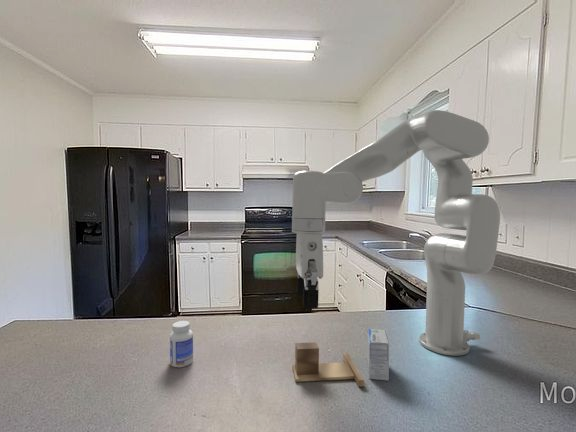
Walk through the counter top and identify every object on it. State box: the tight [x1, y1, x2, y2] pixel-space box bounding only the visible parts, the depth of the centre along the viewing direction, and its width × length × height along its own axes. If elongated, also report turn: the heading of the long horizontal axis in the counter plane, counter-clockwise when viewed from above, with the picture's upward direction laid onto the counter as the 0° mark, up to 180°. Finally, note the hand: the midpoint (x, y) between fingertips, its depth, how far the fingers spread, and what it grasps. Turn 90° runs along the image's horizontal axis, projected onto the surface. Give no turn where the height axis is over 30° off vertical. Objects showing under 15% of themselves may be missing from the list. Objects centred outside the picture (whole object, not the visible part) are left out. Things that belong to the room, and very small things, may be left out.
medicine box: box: [366, 328, 390, 382], centre depth 72 cm, size 8×4×9 cm, turn 168°
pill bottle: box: [169, 320, 194, 368], centre depth 75 cm, size 5×5×10 cm
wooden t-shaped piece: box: [292, 341, 365, 388], centre depth 71 cm, size 15×12×7 cm
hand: (306, 300), depth 70 cm, fingers open, 9 cm apart
